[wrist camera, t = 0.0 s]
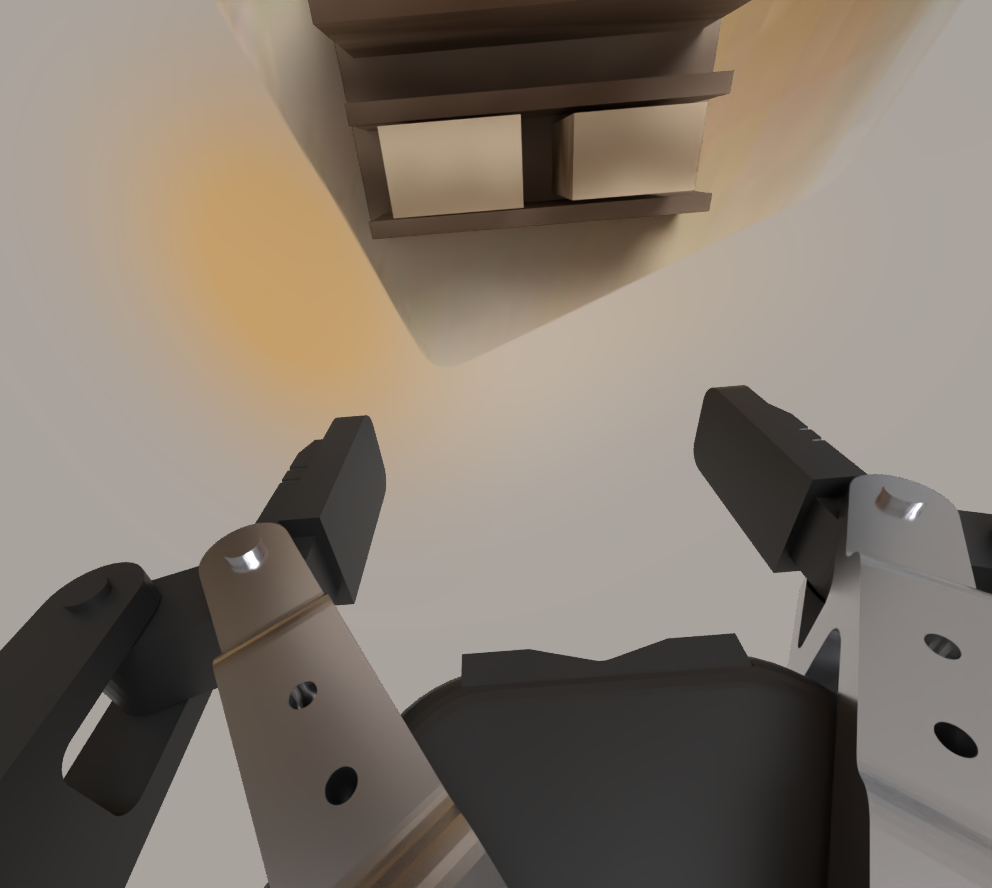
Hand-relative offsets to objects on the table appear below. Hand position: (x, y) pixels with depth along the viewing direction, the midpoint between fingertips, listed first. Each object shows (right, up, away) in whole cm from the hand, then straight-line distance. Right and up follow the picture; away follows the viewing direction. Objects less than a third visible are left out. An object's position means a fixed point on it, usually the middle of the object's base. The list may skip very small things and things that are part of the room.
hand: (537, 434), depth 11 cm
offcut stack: (+1, +20, +20) cm, 28 cm away
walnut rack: (+1, +25, +19) cm, 31 cm away
